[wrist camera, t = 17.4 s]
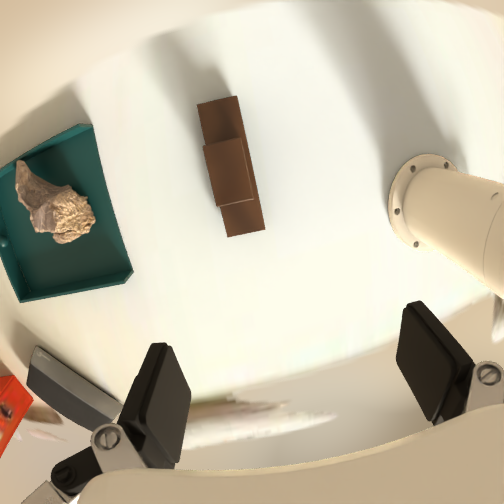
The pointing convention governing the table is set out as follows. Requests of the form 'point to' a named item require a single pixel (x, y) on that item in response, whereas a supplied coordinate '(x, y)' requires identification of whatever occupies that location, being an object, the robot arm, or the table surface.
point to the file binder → (11, 408)
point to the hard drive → (70, 392)
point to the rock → (53, 206)
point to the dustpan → (43, 244)
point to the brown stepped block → (230, 166)
